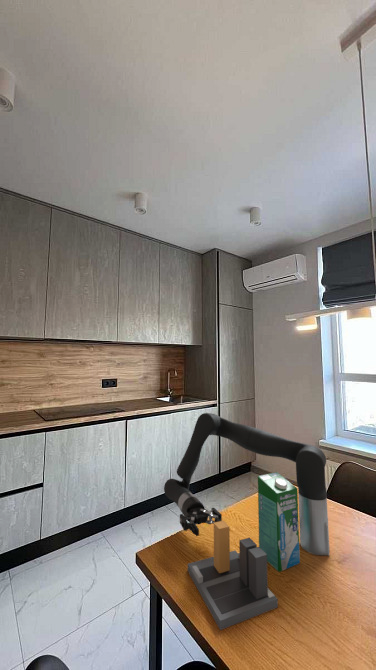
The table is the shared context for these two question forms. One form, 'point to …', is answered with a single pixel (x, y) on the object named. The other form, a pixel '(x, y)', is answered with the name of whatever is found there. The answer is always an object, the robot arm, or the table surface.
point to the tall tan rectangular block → (221, 546)
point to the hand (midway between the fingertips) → (209, 530)
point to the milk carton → (278, 521)
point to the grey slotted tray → (235, 585)
